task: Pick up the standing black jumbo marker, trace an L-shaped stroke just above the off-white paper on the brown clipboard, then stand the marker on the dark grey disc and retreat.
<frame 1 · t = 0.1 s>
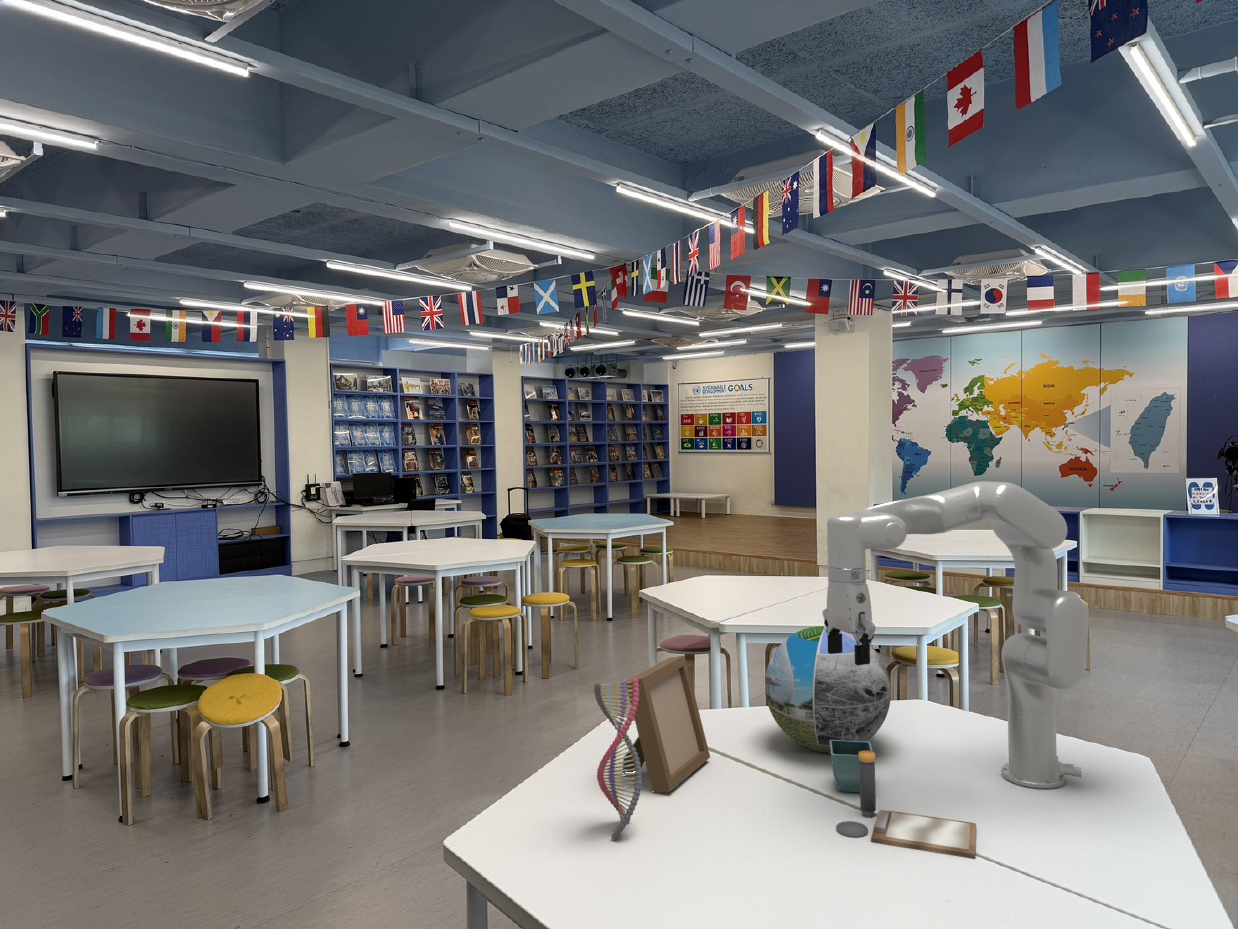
hand: (848, 658, 170), 31 cm above the table, tool pointing down, fingers open, 9 cm apart
clipboard: (924, 834, 158), on the table
photo frame: (662, 773, 192), on the table
marker: (868, 814, 167), on the table
dna model: (621, 832, 164), on the table
photo collage ball: (828, 749, 204), on the table
dark grey disc: (852, 830, 161), on the table
flower pot: (852, 789, 180), on the table
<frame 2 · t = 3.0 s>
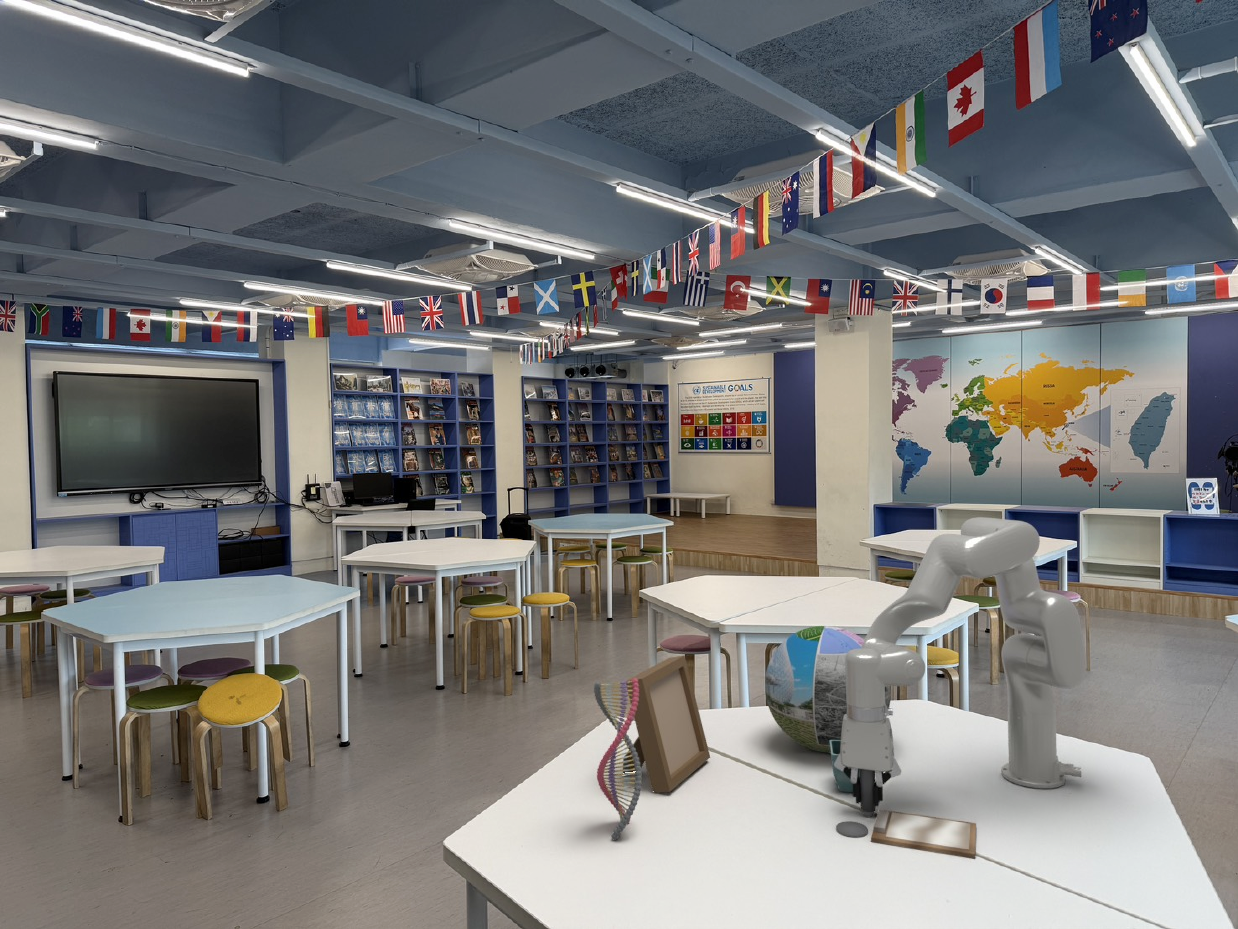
hand: (868, 801, 167), 3 cm above the table, tool pointing down, fingers closed on marker, 3 cm apart
marker: (868, 814, 167), on the table, touching gripper
everything else where it was.
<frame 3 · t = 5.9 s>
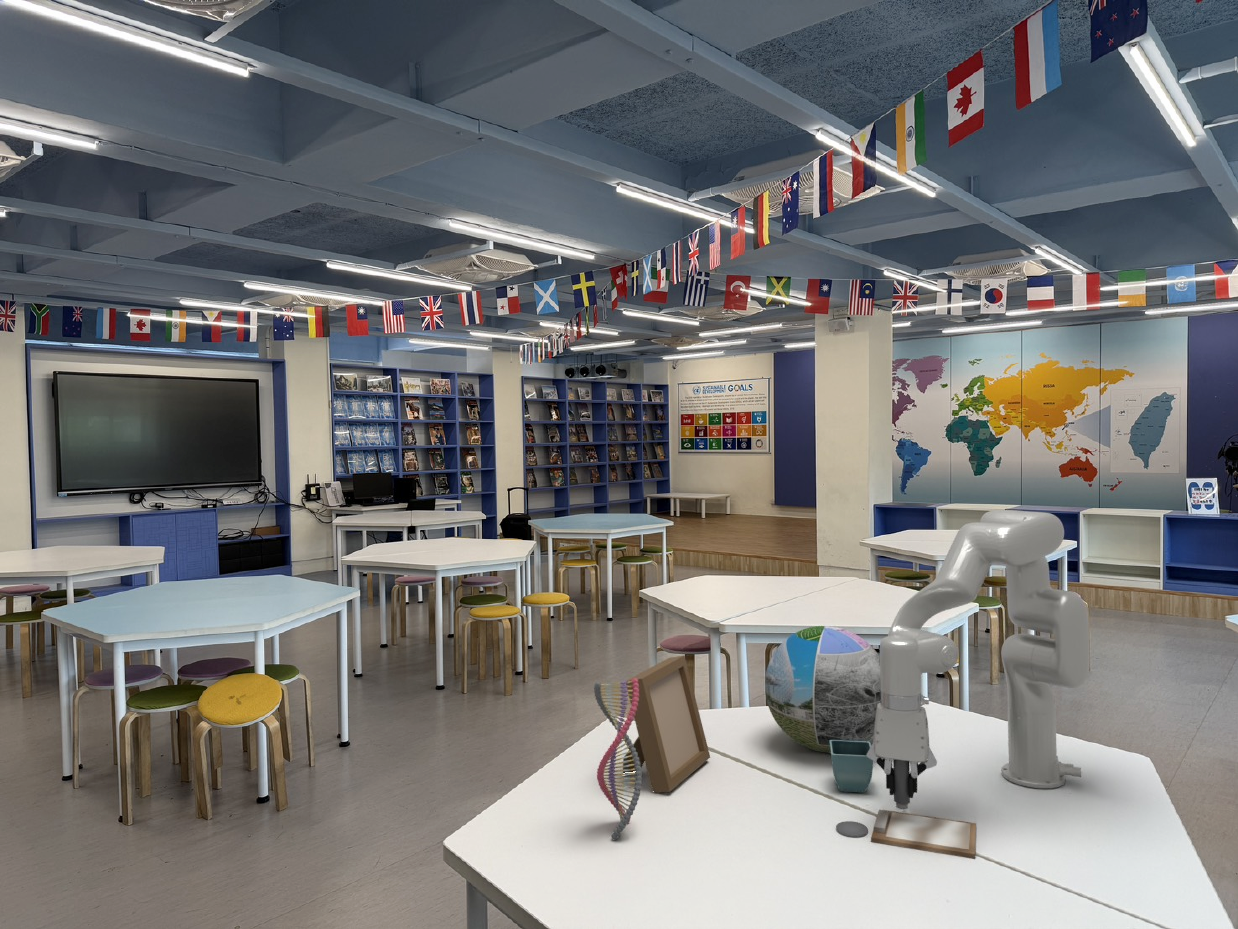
hand: (901, 793, 162), 6 cm above the table, tool pointing down, fingers closed on marker, 3 cm apart
marker: (901, 807, 162), point 4 cm above the table, touching gripper
everything else where it was.
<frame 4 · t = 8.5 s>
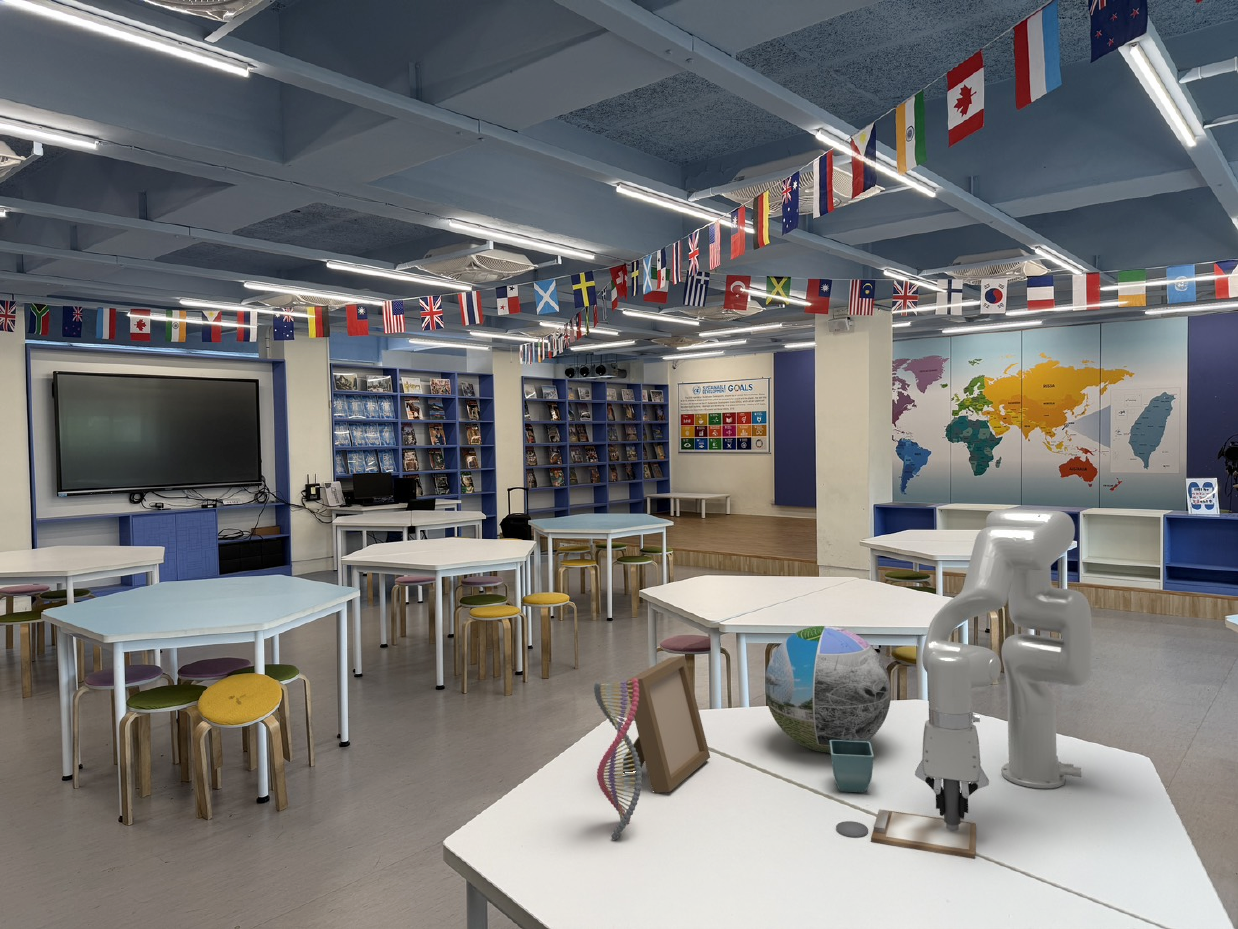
hand: (952, 813, 157), 4 cm above the table, tool pointing down, fingers closed on marker, 3 cm apart
marker: (952, 827, 157), point 2 cm above the table, touching gripper
everything else where it was.
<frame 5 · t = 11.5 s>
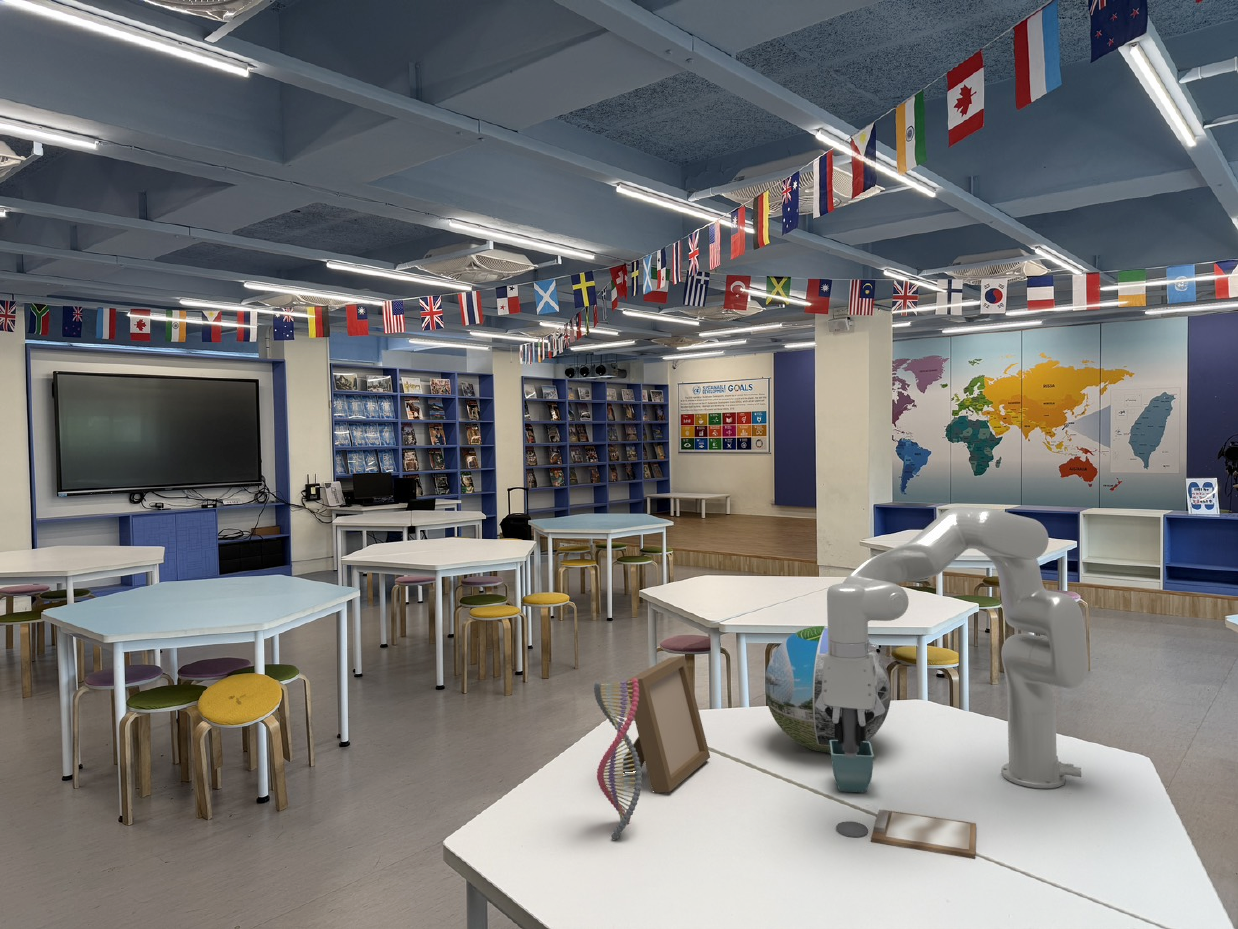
hand: (850, 742, 160), 17 cm above the table, tool pointing down, fingers closed on marker, 3 cm apart
marker: (850, 756, 160), point 15 cm above the table, touching gripper
everything else where it was.
when the fingers open (4 cm above the table, at t = 14.2 s): marker stays where it is, resting on dark grey disc.
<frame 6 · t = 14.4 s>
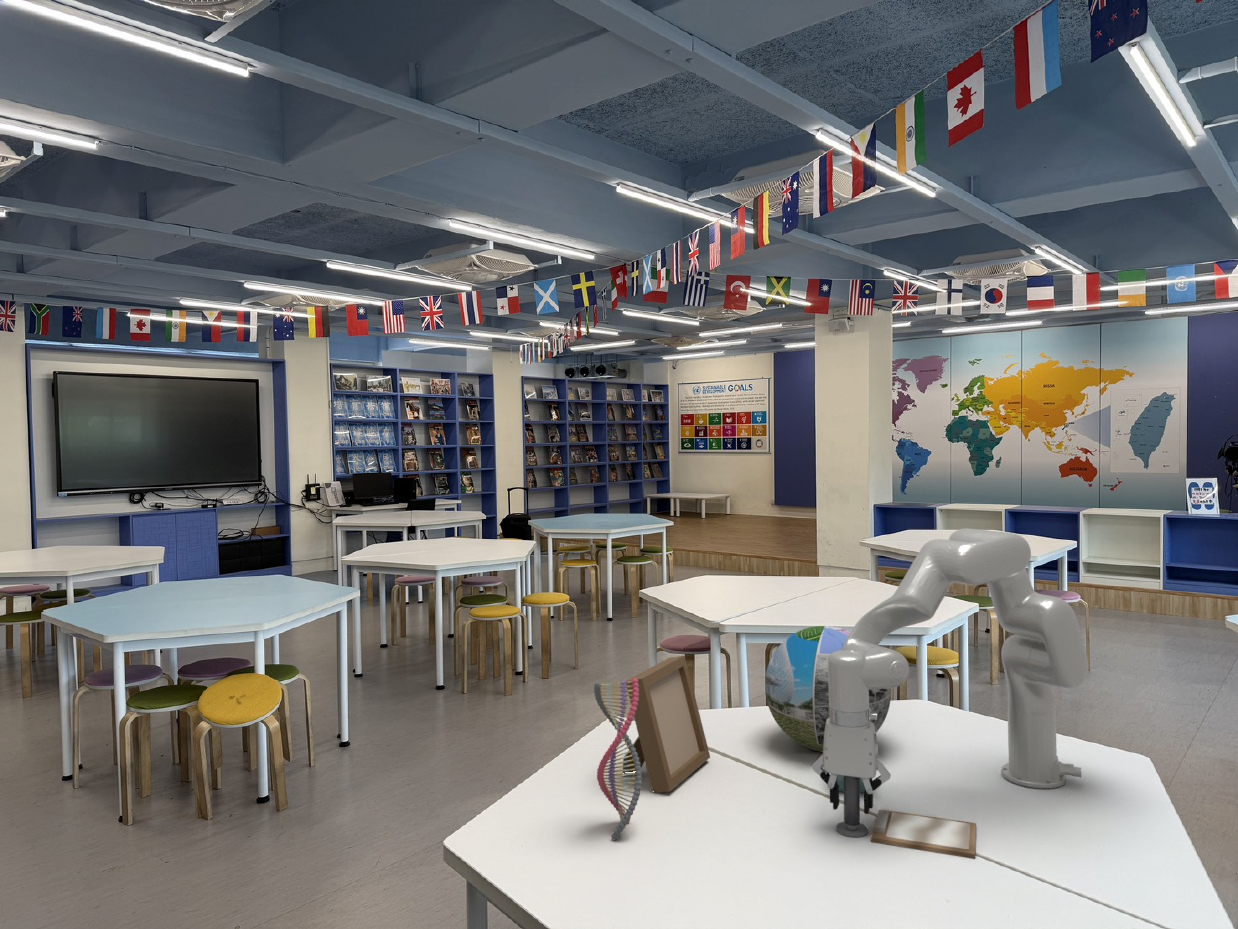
hand: (851, 808, 161), 4 cm above the table, tool pointing down, fingers open, 5 cm apart
marker: (852, 828, 161), resting on dark grey disc
everything else where it was.
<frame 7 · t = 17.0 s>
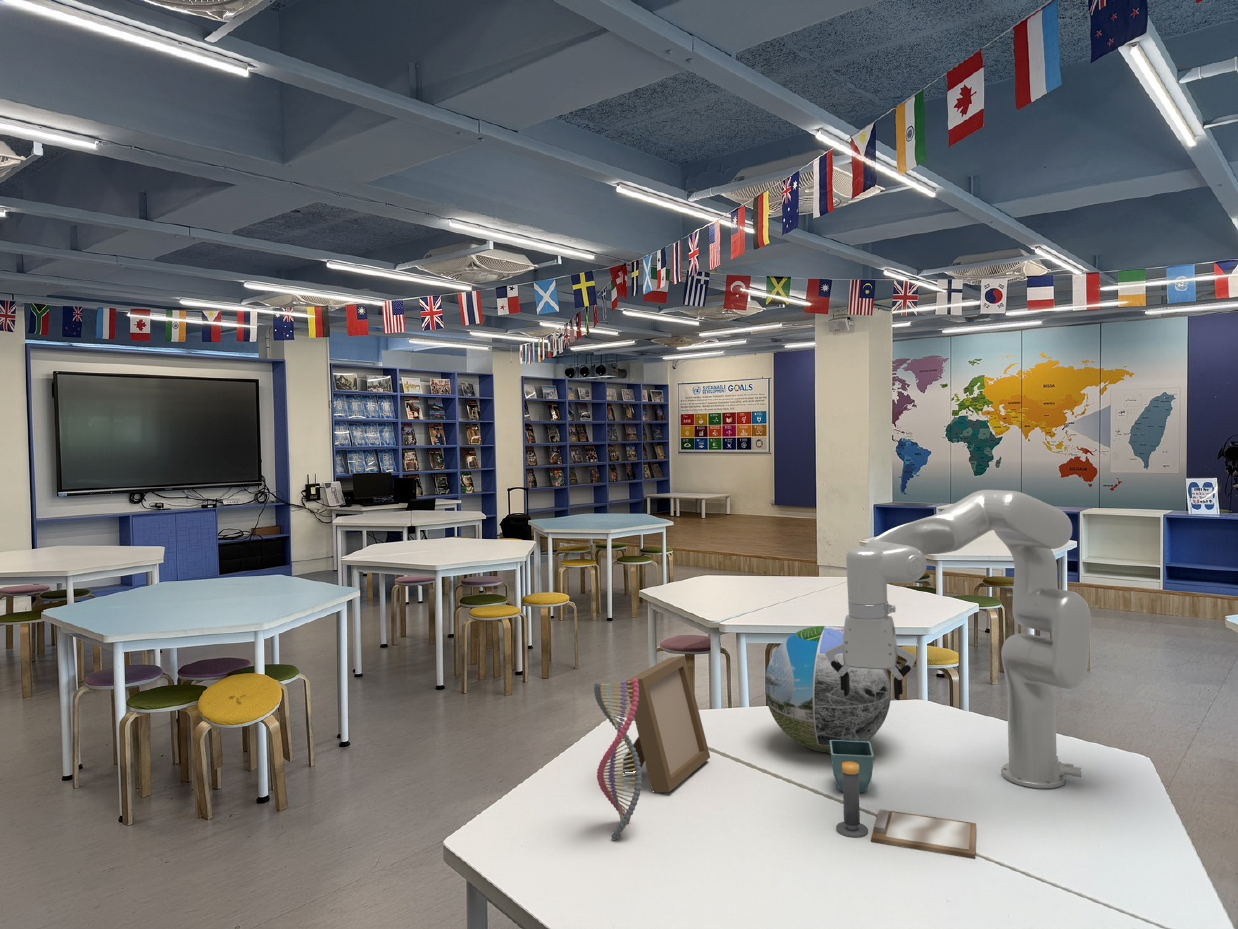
hand: (871, 695, 165), 25 cm above the table, tool pointing down, fingers open, 9 cm apart
nothing on the table moved.
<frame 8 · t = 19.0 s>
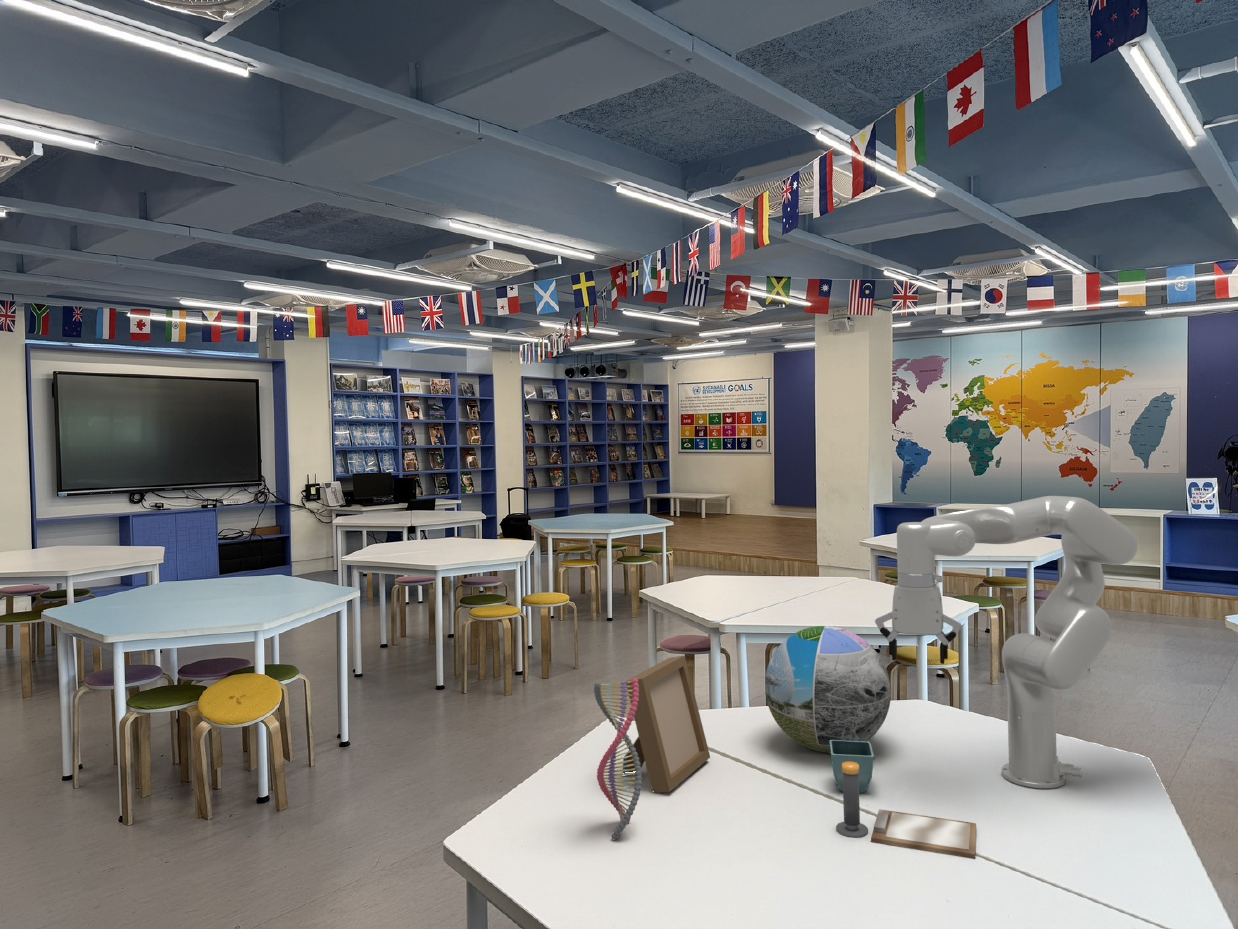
hand: (918, 660, 177), 28 cm above the table, tool pointing down, fingers open, 9 cm apart
nothing on the table moved.
at the end: marker 0.1 cm from the dark grey disc (horizontally); marker tilted 0°; the gripper is holding nothing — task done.
